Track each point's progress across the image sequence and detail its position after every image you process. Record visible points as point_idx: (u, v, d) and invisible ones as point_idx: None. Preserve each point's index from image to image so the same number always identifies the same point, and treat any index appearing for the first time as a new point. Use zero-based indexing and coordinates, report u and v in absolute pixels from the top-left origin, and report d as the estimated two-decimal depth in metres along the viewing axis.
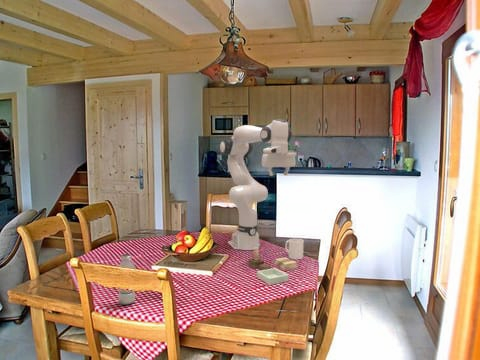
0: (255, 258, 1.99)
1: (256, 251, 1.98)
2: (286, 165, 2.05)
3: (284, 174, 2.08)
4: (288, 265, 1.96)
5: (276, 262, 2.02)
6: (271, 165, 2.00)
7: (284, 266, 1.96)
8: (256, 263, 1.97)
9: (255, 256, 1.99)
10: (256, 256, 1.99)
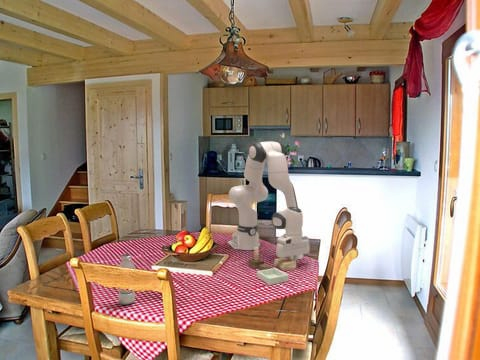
0: (255, 258, 1.99)
1: (256, 251, 1.98)
2: (300, 253, 2.03)
3: None
4: (287, 265, 1.95)
5: (275, 262, 2.02)
6: (286, 255, 1.98)
7: (283, 266, 1.96)
8: (256, 263, 1.97)
9: (255, 256, 1.99)
10: (256, 256, 1.99)
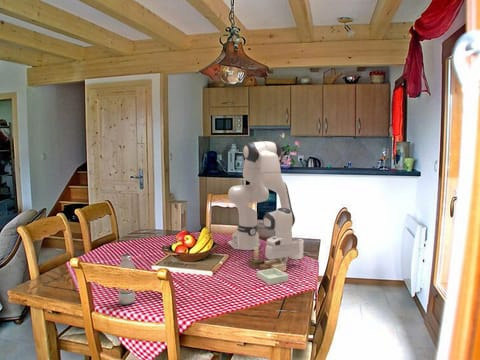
0: (255, 258, 1.99)
1: (256, 251, 1.98)
2: (290, 254, 2.00)
3: None
4: (277, 267, 1.92)
5: None
6: (275, 257, 1.95)
7: None
8: (256, 263, 1.97)
9: (255, 256, 1.99)
10: (256, 256, 1.99)
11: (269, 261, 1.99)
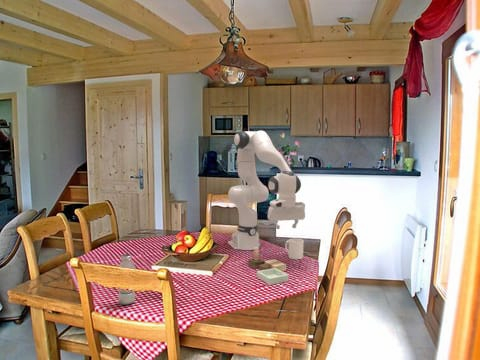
0: (255, 258, 1.99)
1: (256, 251, 1.98)
2: (294, 218, 1.99)
3: (292, 227, 2.02)
4: (277, 267, 1.92)
5: None
6: (277, 219, 1.96)
7: None
8: (256, 263, 1.97)
9: (255, 256, 1.99)
10: (256, 256, 1.99)
11: (269, 261, 1.99)
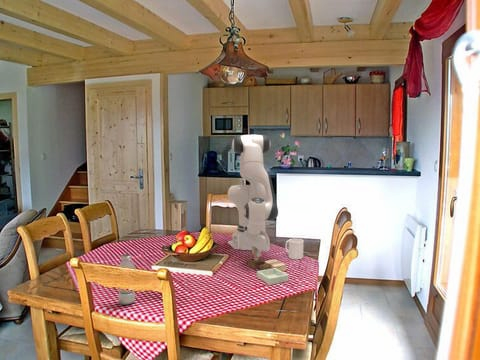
0: (255, 258, 1.99)
1: (256, 251, 1.98)
2: (257, 247, 1.95)
3: None
4: (277, 267, 1.92)
5: None
6: (247, 242, 2.03)
7: None
8: (256, 263, 1.97)
9: (255, 256, 1.99)
10: (256, 256, 1.99)
11: (269, 261, 1.99)
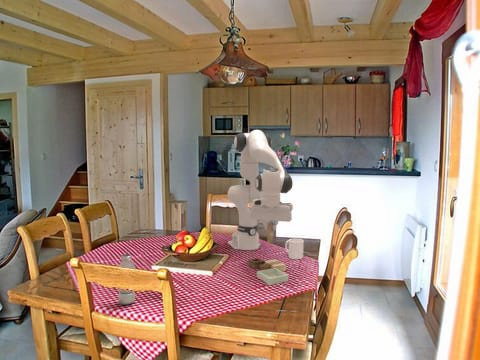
0: (271, 233, 1.83)
1: (272, 225, 1.83)
2: (277, 219, 1.81)
3: None
4: (277, 267, 1.92)
5: None
6: (257, 218, 1.83)
7: None
8: (256, 263, 1.97)
9: (271, 230, 1.83)
10: (272, 230, 1.83)
11: (269, 261, 1.99)
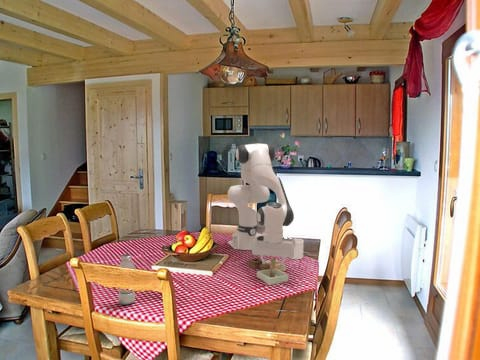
0: (273, 269, 1.82)
1: (274, 261, 1.82)
2: (280, 255, 1.80)
3: (280, 264, 1.83)
4: (276, 267, 1.92)
5: None
6: (260, 253, 1.82)
7: None
8: (256, 263, 1.97)
9: (273, 267, 1.82)
10: (274, 267, 1.82)
11: (269, 261, 1.99)
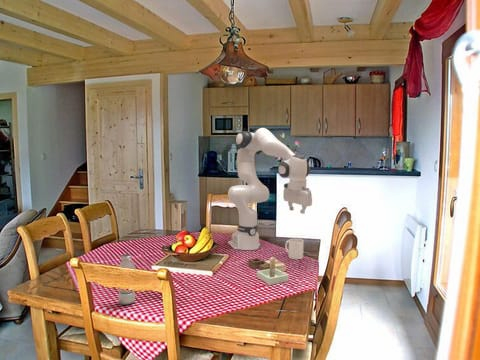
0: (273, 269, 1.82)
1: (274, 261, 1.82)
2: (299, 203, 1.98)
3: (302, 212, 1.99)
4: (276, 267, 1.92)
5: None
6: (287, 199, 2.06)
7: None
8: (256, 263, 1.97)
9: (273, 267, 1.82)
10: (274, 267, 1.82)
11: (269, 261, 1.99)
